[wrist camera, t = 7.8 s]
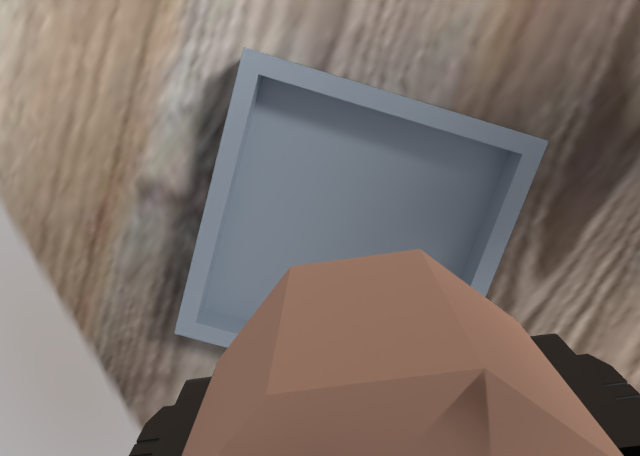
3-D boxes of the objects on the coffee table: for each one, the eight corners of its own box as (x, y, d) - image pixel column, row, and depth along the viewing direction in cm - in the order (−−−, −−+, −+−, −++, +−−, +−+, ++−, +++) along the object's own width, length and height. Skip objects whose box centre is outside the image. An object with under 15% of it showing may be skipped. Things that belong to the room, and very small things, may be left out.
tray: (529, 135, 23) (548, 140, 21) (432, 380, 27) (441, 405, 25) (251, 50, 23) (243, 47, 21) (185, 313, 26) (174, 333, 24)
